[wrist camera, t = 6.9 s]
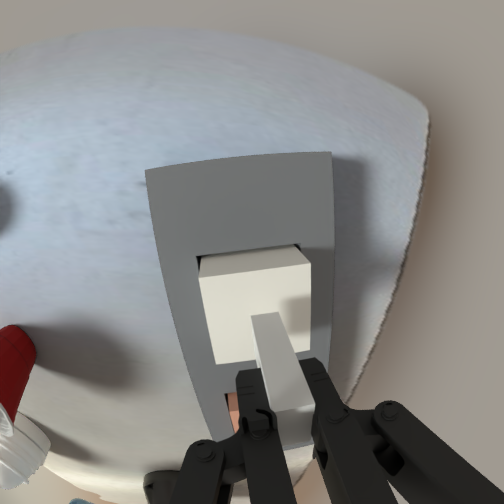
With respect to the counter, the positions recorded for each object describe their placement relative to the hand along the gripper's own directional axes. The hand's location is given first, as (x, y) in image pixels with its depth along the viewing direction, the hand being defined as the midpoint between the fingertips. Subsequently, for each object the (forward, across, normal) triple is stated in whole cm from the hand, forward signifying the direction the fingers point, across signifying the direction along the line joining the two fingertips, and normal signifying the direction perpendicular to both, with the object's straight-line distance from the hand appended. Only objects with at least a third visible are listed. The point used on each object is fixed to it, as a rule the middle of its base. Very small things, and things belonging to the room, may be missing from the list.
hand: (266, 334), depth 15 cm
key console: (+10, 0, +7) cm, 12 cm away
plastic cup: (+10, +30, +7) cm, 32 cm away
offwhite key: (+6, 0, 0) cm, 6 cm away
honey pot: (+10, +47, +29) cm, 56 cm away
